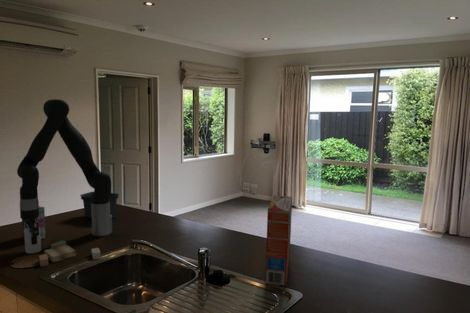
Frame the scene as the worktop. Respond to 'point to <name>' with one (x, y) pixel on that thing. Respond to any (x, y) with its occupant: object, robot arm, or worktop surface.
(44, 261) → the brick terracotta
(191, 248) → the worktop surface
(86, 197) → the storage bin
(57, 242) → the brick sage
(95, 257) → the brick cream
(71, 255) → the oak pad
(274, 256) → the pasta box
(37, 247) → the can
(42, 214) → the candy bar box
